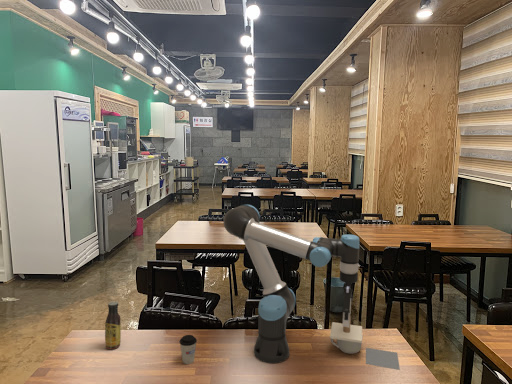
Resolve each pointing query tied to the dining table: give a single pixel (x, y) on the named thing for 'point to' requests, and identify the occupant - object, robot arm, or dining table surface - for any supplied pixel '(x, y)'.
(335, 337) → the lid
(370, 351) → the mat
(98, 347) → the dining table surface
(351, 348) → the teacup
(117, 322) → the sauce bottle
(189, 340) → the coffee cup
